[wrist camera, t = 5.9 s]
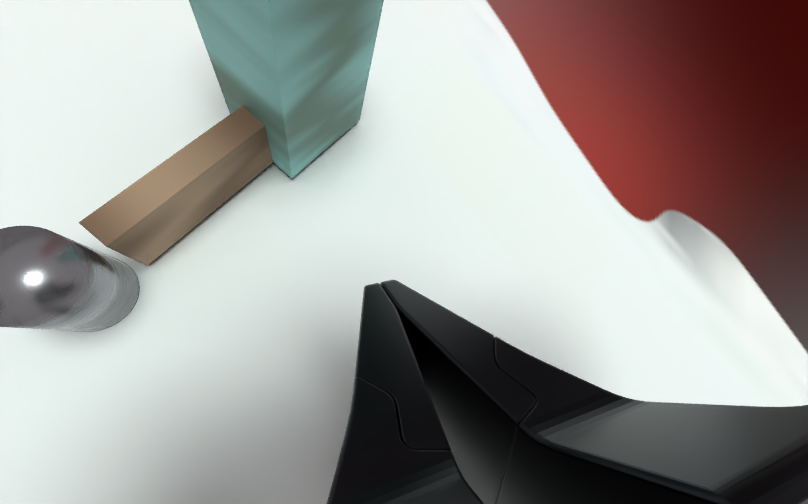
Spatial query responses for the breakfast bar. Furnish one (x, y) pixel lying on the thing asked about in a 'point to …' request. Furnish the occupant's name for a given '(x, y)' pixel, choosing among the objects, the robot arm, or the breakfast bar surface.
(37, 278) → the hinge post
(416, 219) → the breakfast bar surface
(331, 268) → the breakfast bar surface
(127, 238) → the gate
